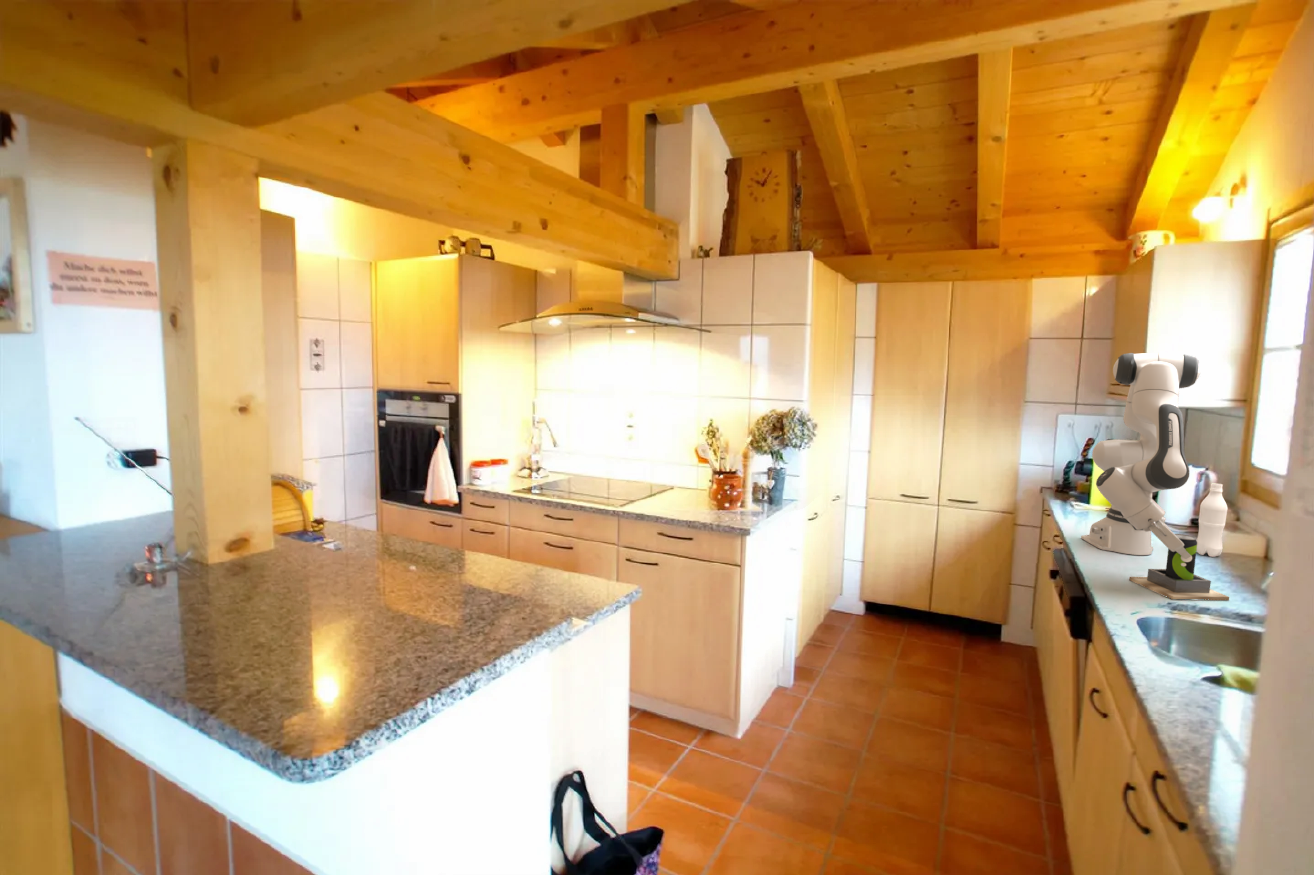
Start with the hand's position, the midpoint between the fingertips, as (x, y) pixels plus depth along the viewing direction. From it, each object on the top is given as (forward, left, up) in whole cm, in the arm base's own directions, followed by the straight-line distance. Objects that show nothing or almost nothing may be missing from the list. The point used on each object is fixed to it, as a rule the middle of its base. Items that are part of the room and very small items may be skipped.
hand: (1184, 553), depth 182 cm
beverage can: (0, 0, -10) cm, 10 cm away
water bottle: (-34, +39, -11) cm, 54 cm away
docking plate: (0, -1, -11) cm, 11 cm away
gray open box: (0, -1, -11) cm, 11 cm away
